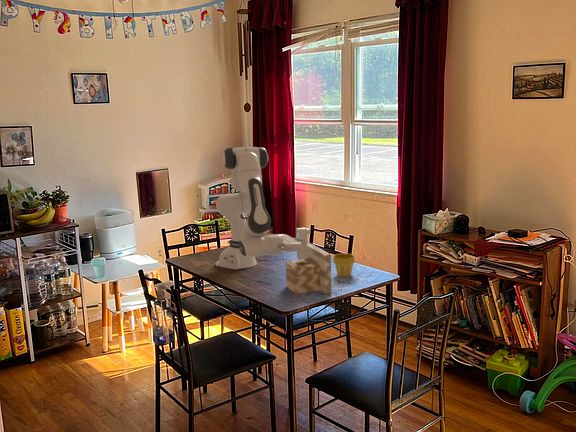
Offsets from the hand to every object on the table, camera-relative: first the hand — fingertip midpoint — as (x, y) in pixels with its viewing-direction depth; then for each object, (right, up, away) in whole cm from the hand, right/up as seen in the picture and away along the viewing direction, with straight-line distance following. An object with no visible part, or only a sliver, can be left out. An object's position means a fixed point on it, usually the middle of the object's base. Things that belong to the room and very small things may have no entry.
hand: (303, 241), depth 263 cm
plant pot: (+21, -18, +23) cm, 36 cm away
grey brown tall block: (-1, -8, +1) cm, 8 cm away
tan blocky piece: (+1, -22, +5) cm, 23 cm away
